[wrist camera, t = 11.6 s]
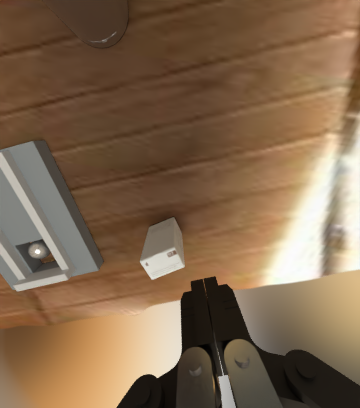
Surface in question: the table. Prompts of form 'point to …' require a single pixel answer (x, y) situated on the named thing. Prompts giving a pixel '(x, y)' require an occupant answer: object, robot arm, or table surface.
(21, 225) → the slate board
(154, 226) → the skincare box
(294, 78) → the table surface
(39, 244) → the steel ball
